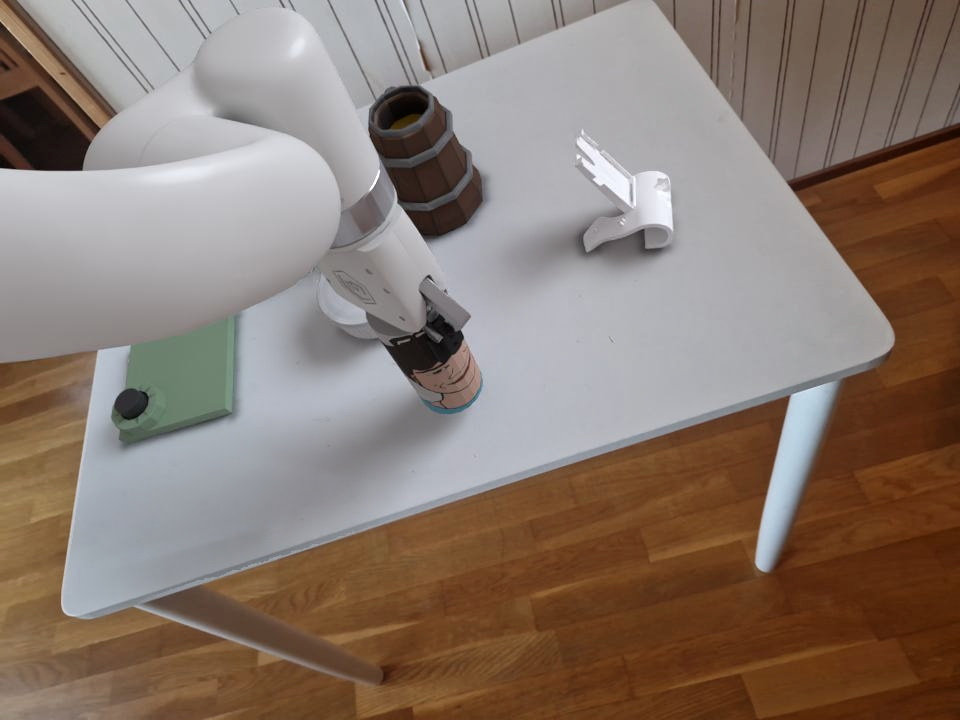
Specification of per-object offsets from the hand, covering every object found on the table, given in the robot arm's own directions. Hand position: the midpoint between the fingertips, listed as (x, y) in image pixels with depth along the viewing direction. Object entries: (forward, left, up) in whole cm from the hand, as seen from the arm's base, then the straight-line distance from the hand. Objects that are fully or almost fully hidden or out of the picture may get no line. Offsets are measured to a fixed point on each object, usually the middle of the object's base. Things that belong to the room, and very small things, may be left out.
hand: (420, 333), depth 61 cm
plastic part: (+27, -5, -13) cm, 31 cm away
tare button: (-21, +33, -10) cm, 41 cm away
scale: (-16, +33, -13) cm, 39 cm away
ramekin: (+4, +16, -13) cm, 21 cm away
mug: (+22, +21, -13) cm, 33 cm away
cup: (0, 0, -10) cm, 10 cm away
